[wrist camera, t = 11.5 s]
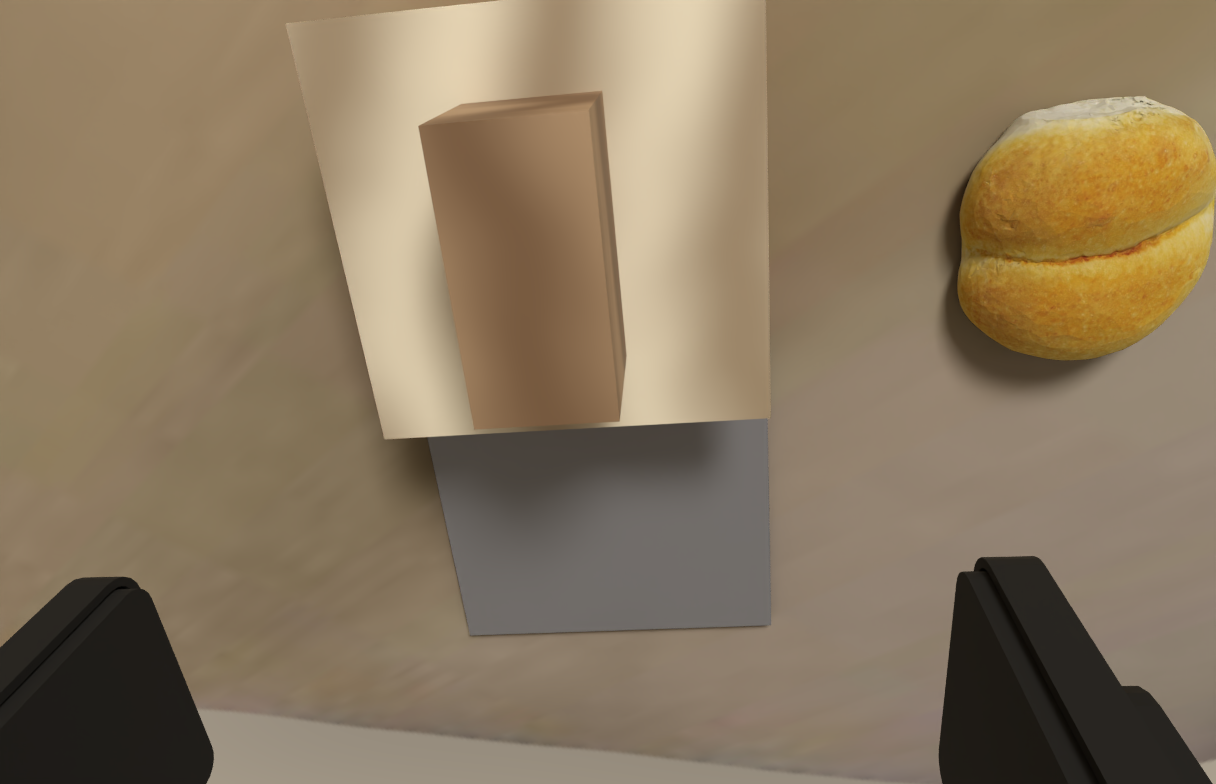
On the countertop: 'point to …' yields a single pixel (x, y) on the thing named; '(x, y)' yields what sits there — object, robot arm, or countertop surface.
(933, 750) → the countertop surface
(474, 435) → the rubber mat
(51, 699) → the robot arm
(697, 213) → the birch lid
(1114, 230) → the bread roll
